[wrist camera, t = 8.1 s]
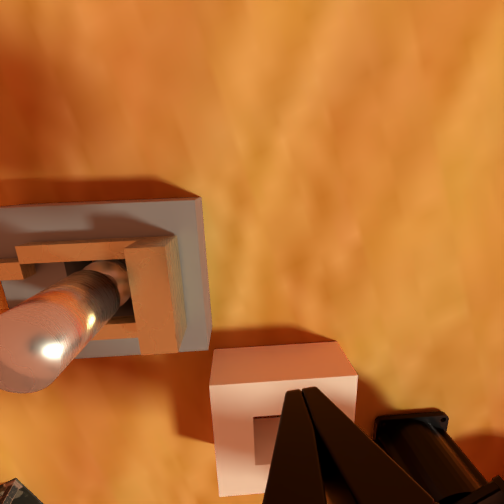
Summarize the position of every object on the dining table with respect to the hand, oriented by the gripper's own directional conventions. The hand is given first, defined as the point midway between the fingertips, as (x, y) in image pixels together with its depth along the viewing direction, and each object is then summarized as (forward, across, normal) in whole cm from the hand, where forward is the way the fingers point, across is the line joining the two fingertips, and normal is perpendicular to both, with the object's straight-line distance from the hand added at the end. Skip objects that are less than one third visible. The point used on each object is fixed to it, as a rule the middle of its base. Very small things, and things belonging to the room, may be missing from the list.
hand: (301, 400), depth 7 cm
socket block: (+13, +10, -1) cm, 16 cm away
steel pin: (+13, +10, -1) cm, 17 cm away
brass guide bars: (+10, +12, -1) cm, 15 cm away
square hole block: (+13, 0, +12) cm, 18 cm away
